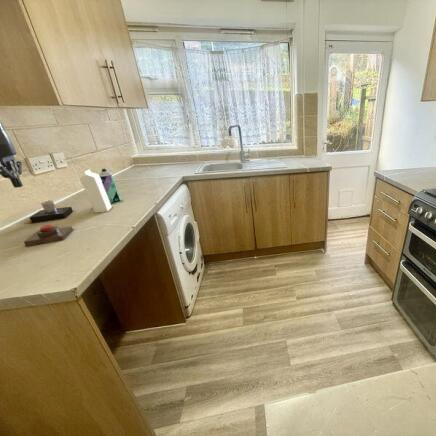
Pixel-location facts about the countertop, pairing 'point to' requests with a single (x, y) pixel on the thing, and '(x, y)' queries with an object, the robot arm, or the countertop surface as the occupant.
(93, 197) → the milk
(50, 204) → the hob knob
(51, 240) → the igniter
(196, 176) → the countertop surface
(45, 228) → the button
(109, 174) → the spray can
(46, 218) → the panel
